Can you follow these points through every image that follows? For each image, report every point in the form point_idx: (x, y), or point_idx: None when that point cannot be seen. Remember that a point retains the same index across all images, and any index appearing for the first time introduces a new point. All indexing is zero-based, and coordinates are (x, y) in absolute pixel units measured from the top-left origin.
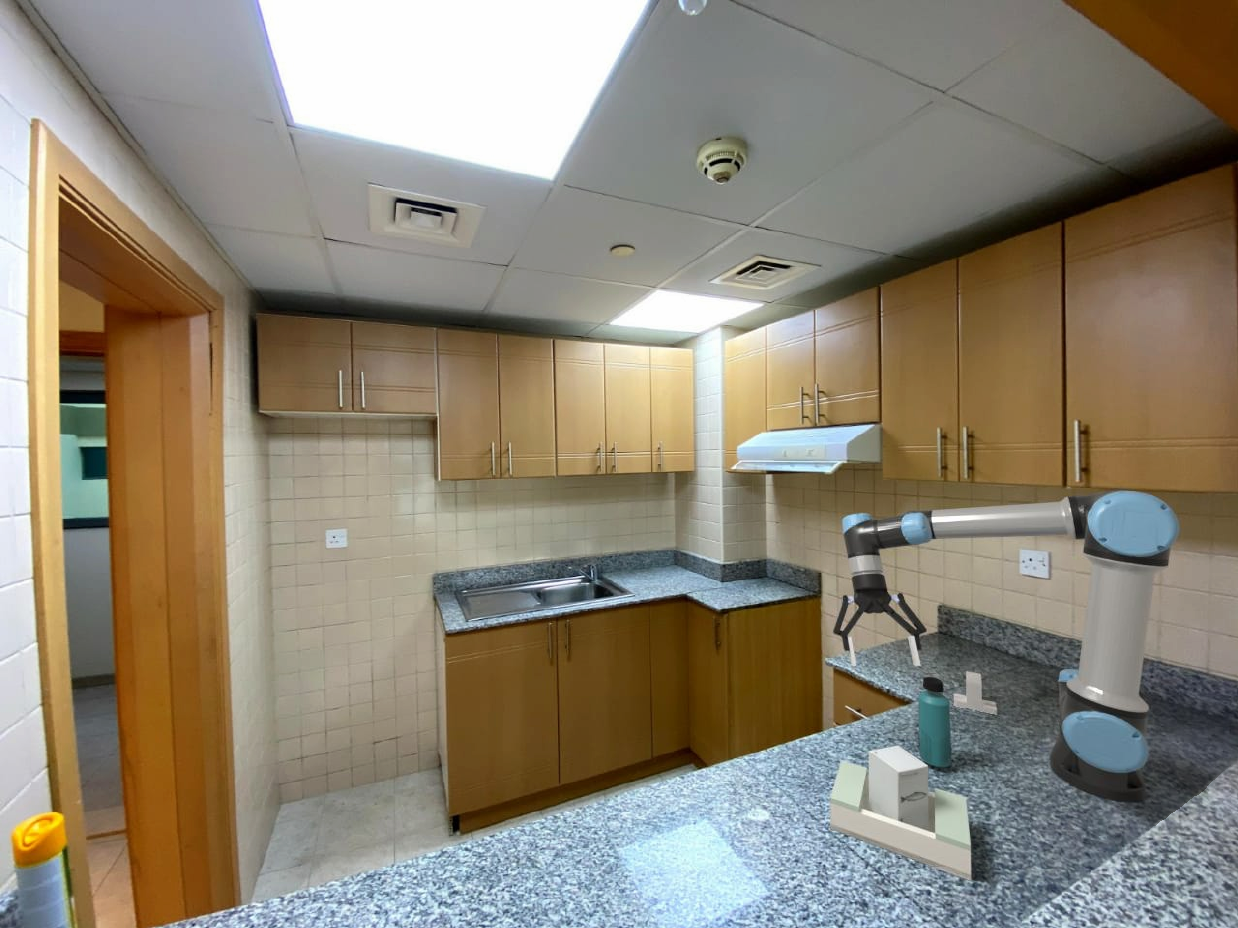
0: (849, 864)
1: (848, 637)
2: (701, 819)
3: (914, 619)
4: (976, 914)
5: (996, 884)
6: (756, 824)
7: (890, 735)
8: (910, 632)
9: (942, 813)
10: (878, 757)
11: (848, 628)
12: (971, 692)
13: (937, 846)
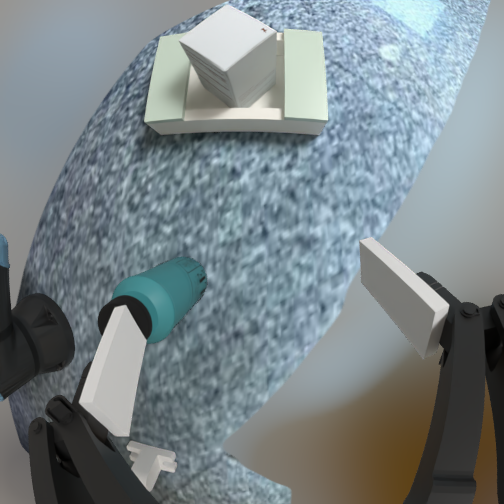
0: (286, 21)
1: (446, 302)
2: (426, 36)
3: (45, 478)
4: (177, 27)
5: (151, 66)
6: (384, 39)
7: (255, 342)
8: (107, 446)
9: (180, 67)
10: (258, 21)
11: (470, 345)
12: (146, 463)
13: None
